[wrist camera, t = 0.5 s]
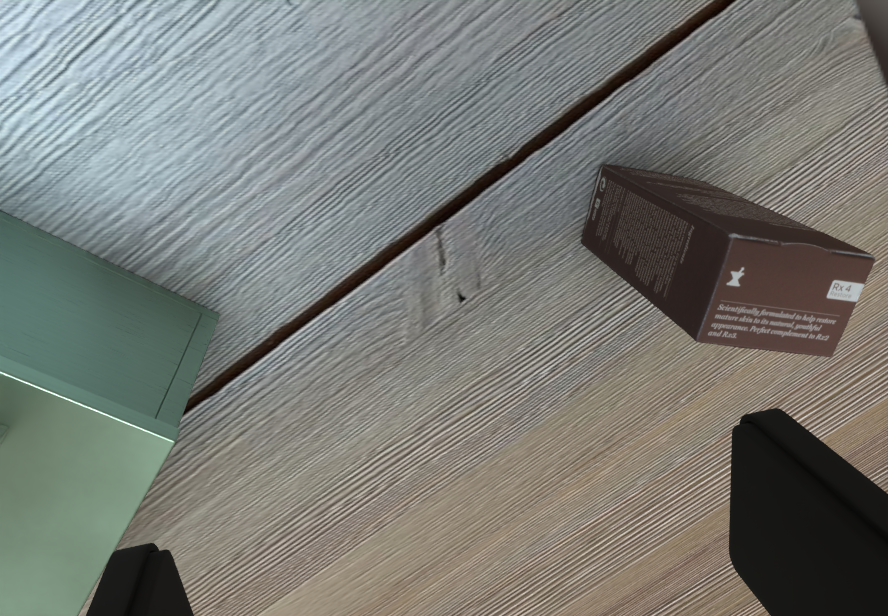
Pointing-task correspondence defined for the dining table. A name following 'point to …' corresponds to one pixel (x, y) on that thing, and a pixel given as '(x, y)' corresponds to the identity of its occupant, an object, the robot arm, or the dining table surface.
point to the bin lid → (66, 487)
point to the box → (725, 262)
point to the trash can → (98, 324)
